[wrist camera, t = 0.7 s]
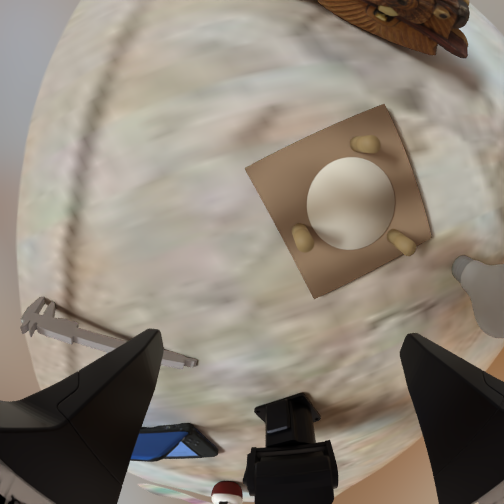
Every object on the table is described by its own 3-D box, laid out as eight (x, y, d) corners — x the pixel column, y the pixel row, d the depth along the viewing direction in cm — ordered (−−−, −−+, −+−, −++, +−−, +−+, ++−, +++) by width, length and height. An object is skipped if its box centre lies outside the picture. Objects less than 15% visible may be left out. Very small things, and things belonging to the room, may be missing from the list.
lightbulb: (441, 300, 24) (497, 365, 14) (427, 256, 22) (499, 318, 12) (479, 269, 22) (541, 320, 12) (469, 223, 21) (546, 267, 10)
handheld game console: (147, 452, 37) (135, 491, 29) (98, 409, 33) (77, 452, 25) (222, 449, 35) (216, 498, 26) (175, 403, 31) (158, 461, 22)
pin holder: (426, 233, 21) (450, 249, 18) (312, 293, 24) (320, 319, 20) (379, 105, 18) (402, 98, 14) (245, 167, 20) (241, 171, 16)
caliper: (43, 301, 26) (14, 328, 20) (42, 294, 26) (12, 321, 20) (196, 364, 28) (184, 408, 22) (197, 357, 27) (185, 402, 21)
